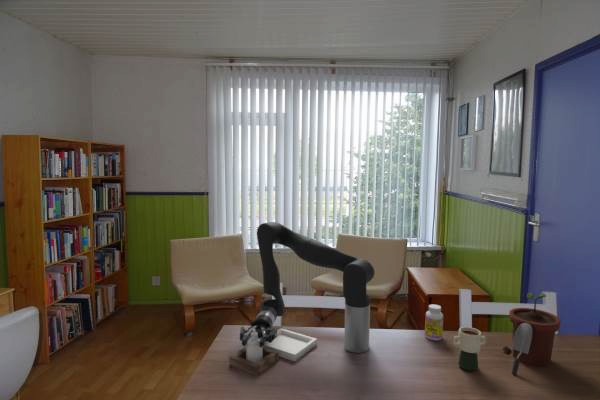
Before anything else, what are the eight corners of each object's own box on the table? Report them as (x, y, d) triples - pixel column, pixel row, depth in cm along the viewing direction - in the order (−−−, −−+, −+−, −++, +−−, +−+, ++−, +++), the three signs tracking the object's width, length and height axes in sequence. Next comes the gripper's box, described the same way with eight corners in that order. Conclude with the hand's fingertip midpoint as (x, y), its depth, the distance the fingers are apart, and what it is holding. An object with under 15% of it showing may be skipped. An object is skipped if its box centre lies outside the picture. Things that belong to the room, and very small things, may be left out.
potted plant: (572, 371, 135) (578, 299, 132) (513, 375, 132) (518, 302, 129) (535, 346, 152) (539, 283, 149) (482, 350, 149) (486, 285, 147)
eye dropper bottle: (261, 366, 137) (261, 332, 135) (245, 365, 137) (244, 331, 136) (263, 359, 141) (263, 327, 140) (248, 358, 142) (247, 326, 140)
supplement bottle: (421, 337, 160) (422, 306, 158) (430, 332, 164) (431, 302, 163) (437, 342, 155) (438, 310, 154) (445, 337, 159) (446, 306, 158)
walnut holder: (251, 351, 147) (251, 343, 147) (278, 360, 141) (278, 352, 140) (229, 365, 137) (229, 356, 137) (256, 375, 131) (256, 366, 130)
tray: (280, 334, 162) (280, 328, 161) (316, 344, 152) (316, 338, 152) (257, 348, 149) (257, 342, 149) (295, 361, 140) (295, 354, 140)
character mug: (479, 362, 140) (481, 326, 139) (488, 373, 133) (491, 335, 132) (448, 362, 140) (449, 326, 139) (456, 373, 133) (458, 335, 132)
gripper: (245, 313, 153) (231, 332, 136) (282, 315, 151) (272, 334, 134) (245, 331, 154) (231, 353, 137) (281, 334, 152) (272, 356, 135)
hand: (252, 343), depth 136 cm, fingers closed on eye dropper bottle, 5 cm apart
